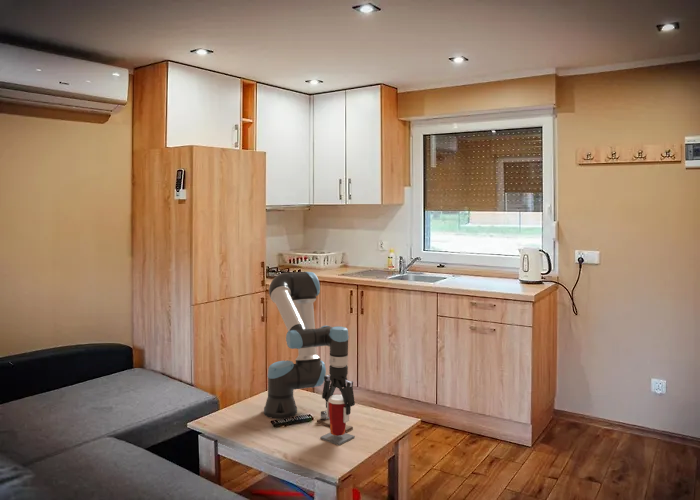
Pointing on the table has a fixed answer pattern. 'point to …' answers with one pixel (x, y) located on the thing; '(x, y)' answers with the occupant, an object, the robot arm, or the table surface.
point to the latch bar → (324, 414)
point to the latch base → (327, 423)
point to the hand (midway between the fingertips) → (337, 418)
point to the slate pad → (337, 438)
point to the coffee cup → (336, 415)
